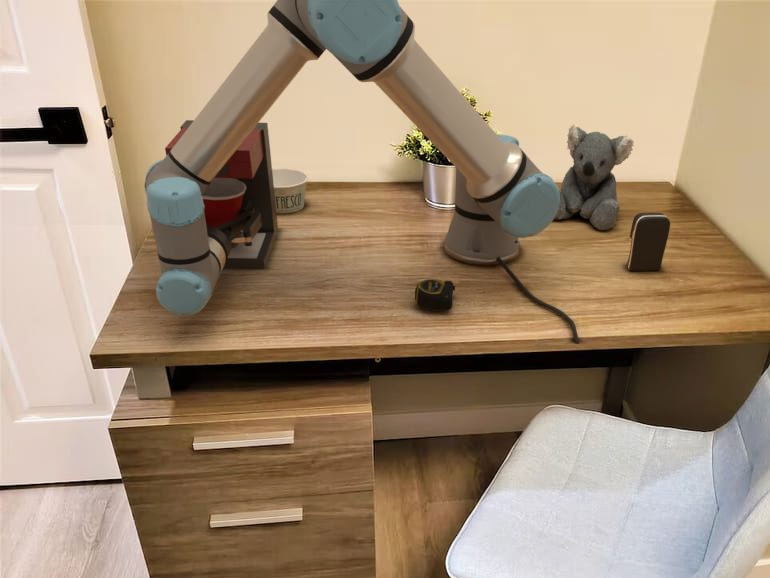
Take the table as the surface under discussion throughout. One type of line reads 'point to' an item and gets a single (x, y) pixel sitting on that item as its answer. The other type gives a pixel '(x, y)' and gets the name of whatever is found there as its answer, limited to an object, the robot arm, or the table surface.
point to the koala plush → (592, 177)
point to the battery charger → (648, 241)
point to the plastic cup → (223, 200)
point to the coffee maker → (250, 193)
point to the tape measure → (434, 294)
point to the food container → (289, 189)
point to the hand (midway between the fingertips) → (229, 203)
